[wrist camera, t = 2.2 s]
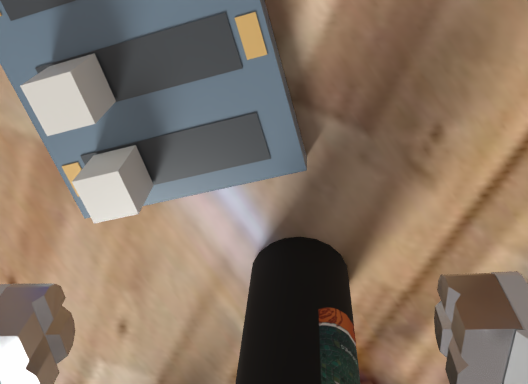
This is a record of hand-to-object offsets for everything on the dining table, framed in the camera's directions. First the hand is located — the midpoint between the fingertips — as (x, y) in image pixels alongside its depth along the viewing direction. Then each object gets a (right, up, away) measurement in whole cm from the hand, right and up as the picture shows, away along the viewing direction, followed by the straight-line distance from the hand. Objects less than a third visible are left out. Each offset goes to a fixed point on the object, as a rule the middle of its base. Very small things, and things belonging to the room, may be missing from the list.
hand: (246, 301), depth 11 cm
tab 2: (-9, +4, +22) cm, 24 cm away
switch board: (-7, +11, +20) cm, 24 cm away
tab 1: (-10, +9, +19) cm, 23 cm away
